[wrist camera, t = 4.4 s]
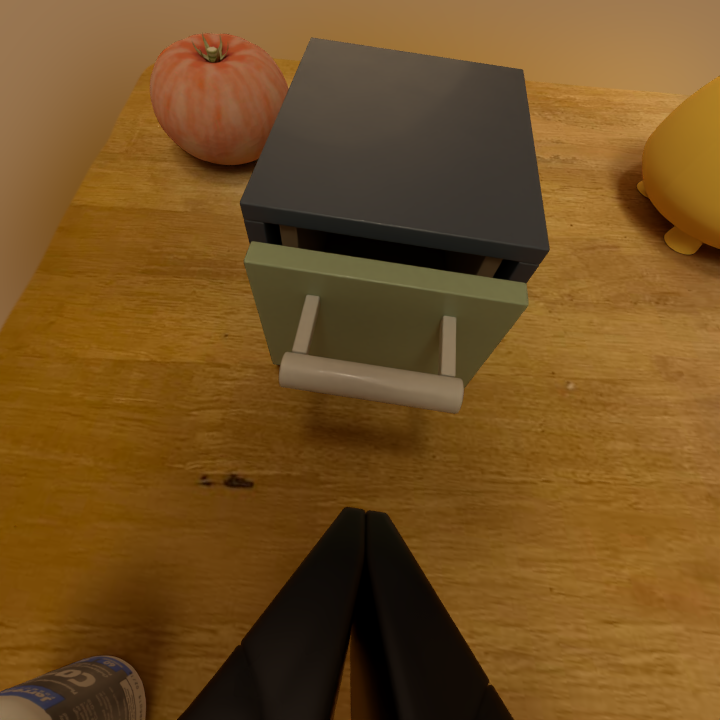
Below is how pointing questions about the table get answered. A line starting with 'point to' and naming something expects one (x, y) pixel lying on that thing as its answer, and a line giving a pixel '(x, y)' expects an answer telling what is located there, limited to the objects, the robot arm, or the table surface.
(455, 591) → the table surface
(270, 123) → the tomato
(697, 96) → the teapot
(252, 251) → the drawer
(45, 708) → the pill bottle
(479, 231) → the cabinet
